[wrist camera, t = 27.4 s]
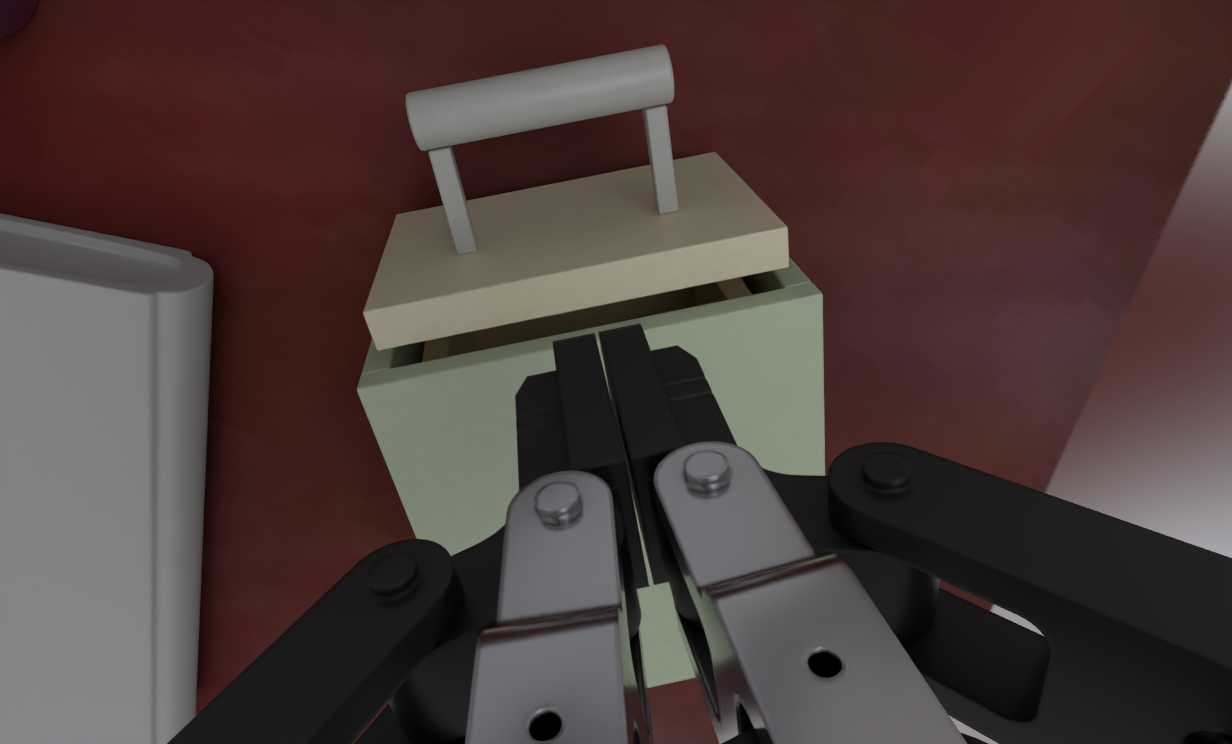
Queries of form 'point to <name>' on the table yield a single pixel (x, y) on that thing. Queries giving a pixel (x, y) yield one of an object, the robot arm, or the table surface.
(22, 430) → the book
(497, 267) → the drawer
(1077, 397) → the table surface
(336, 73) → the table surface
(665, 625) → the cabinet
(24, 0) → the cup
